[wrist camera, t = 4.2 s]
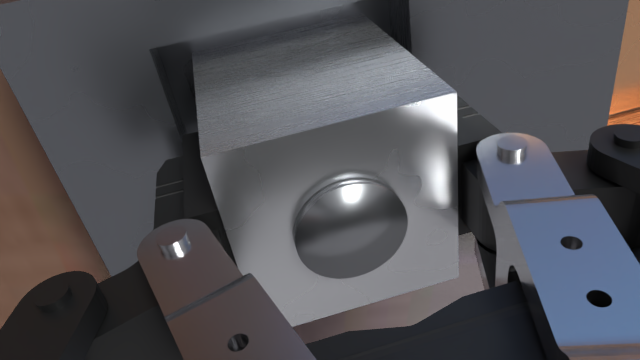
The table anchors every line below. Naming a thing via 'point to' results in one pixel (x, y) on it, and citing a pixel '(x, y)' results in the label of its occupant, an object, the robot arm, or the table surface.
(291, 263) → the silver block
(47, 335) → the robot arm
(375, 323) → the table surface
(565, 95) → the tray
